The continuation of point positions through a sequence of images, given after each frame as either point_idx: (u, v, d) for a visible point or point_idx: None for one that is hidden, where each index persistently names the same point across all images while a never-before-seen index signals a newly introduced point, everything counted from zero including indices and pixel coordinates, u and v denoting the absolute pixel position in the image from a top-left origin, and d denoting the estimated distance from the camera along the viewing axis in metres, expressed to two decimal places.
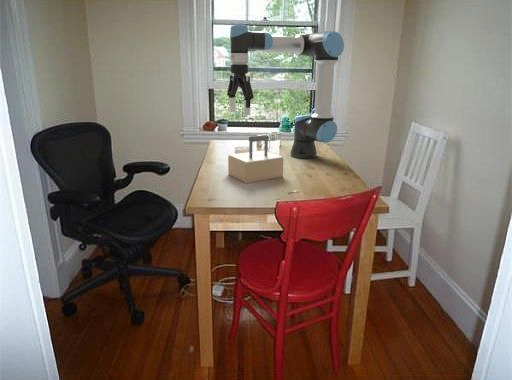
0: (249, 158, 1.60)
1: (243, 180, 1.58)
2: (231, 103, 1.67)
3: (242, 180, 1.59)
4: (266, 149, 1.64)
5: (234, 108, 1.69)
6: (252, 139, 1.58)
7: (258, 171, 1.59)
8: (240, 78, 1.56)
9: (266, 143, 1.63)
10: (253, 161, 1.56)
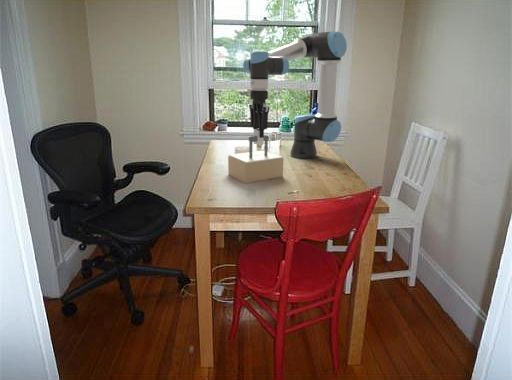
0: (249, 158, 1.60)
1: (243, 180, 1.58)
2: (256, 135, 1.61)
3: (242, 180, 1.59)
4: (266, 149, 1.64)
5: None
6: (252, 139, 1.58)
7: (258, 171, 1.59)
8: (260, 104, 1.53)
9: (266, 143, 1.63)
10: (253, 161, 1.56)
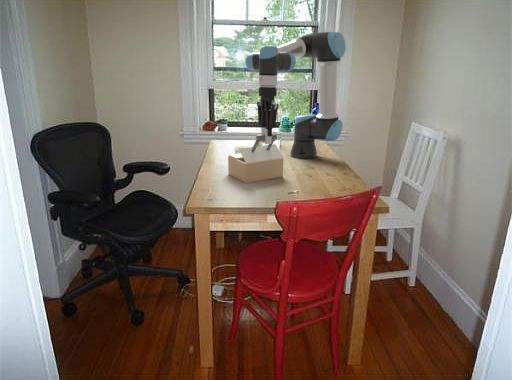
0: (251, 152, 1.58)
1: (243, 180, 1.58)
2: (263, 133, 1.55)
3: (242, 180, 1.59)
4: (270, 145, 1.61)
5: None
6: (260, 140, 1.52)
7: (258, 171, 1.59)
8: (268, 101, 1.47)
9: (272, 141, 1.59)
10: (253, 161, 1.56)
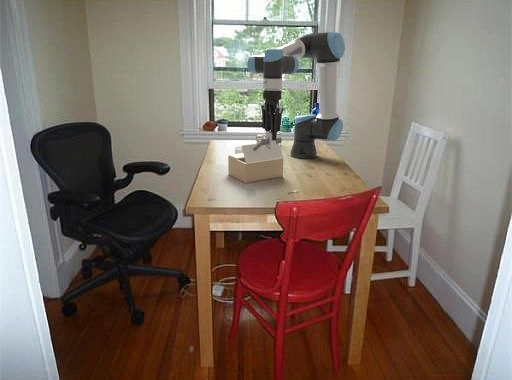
0: (252, 151, 1.57)
1: (243, 180, 1.58)
2: (268, 137, 1.53)
3: (242, 180, 1.59)
4: None
5: None
6: (264, 144, 1.50)
7: (258, 171, 1.59)
8: (273, 105, 1.45)
9: (276, 143, 1.57)
10: None
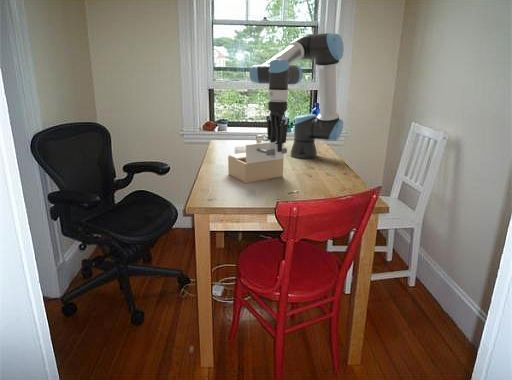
0: (255, 151, 1.55)
1: (243, 180, 1.58)
2: None
3: (242, 180, 1.59)
4: None
5: None
6: None
7: (258, 171, 1.59)
8: (279, 116, 1.43)
9: None
10: (253, 162, 1.56)
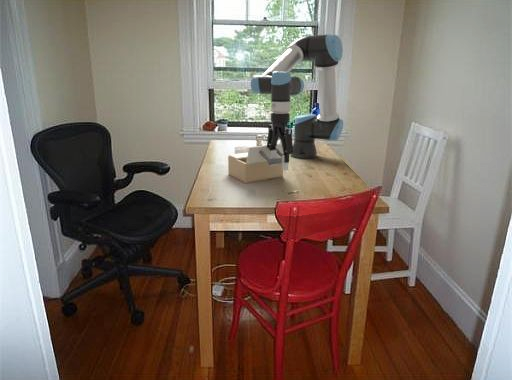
0: (257, 153, 1.54)
1: (243, 180, 1.58)
2: (272, 157, 1.52)
3: (242, 180, 1.59)
4: None
5: None
6: None
7: (258, 171, 1.59)
8: (281, 128, 1.43)
9: None
10: (253, 162, 1.56)
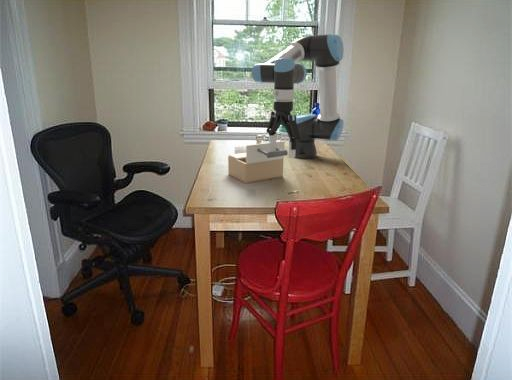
0: (256, 151, 1.55)
1: (243, 180, 1.58)
2: (272, 142, 1.51)
3: (242, 180, 1.59)
4: (277, 150, 1.57)
5: (274, 147, 1.52)
6: None
7: (258, 171, 1.59)
8: (284, 117, 1.39)
9: None
10: (254, 162, 1.56)
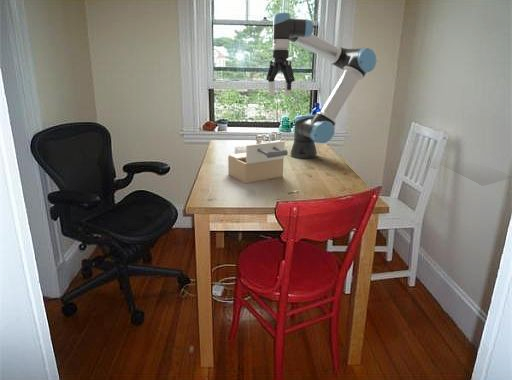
0: (256, 151, 1.55)
1: (243, 180, 1.58)
2: (271, 87, 1.80)
3: (242, 180, 1.59)
4: (277, 150, 1.57)
5: (273, 92, 1.81)
6: None
7: (258, 171, 1.59)
8: (281, 62, 1.68)
9: None
10: (254, 162, 1.56)
